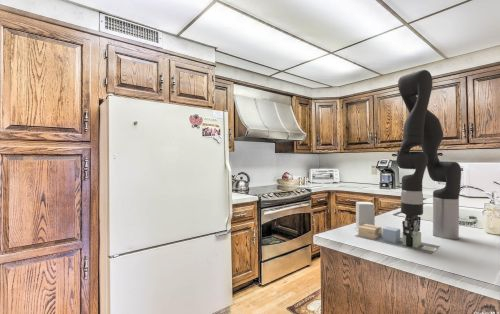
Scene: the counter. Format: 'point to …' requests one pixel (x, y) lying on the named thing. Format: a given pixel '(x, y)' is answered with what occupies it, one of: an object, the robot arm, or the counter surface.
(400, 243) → the mat
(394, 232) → the blue block
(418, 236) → the sage block
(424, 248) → the card
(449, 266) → the counter surface
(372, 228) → the maple base
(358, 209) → the supplement box
